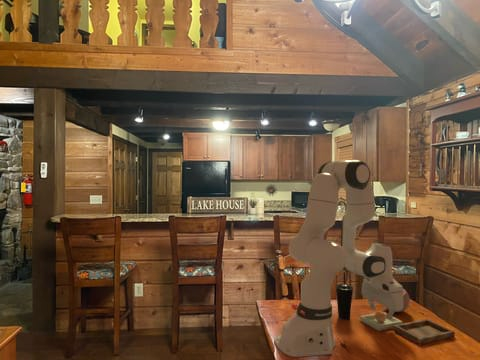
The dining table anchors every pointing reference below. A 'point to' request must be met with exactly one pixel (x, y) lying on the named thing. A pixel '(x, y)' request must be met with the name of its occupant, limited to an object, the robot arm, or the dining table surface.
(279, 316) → the dining table surface
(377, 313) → the ball
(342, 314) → the drinking cup
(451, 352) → the dining table surface
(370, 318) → the tray
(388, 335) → the dining table surface
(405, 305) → the mortar and pestle
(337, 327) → the dining table surface
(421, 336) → the dish
